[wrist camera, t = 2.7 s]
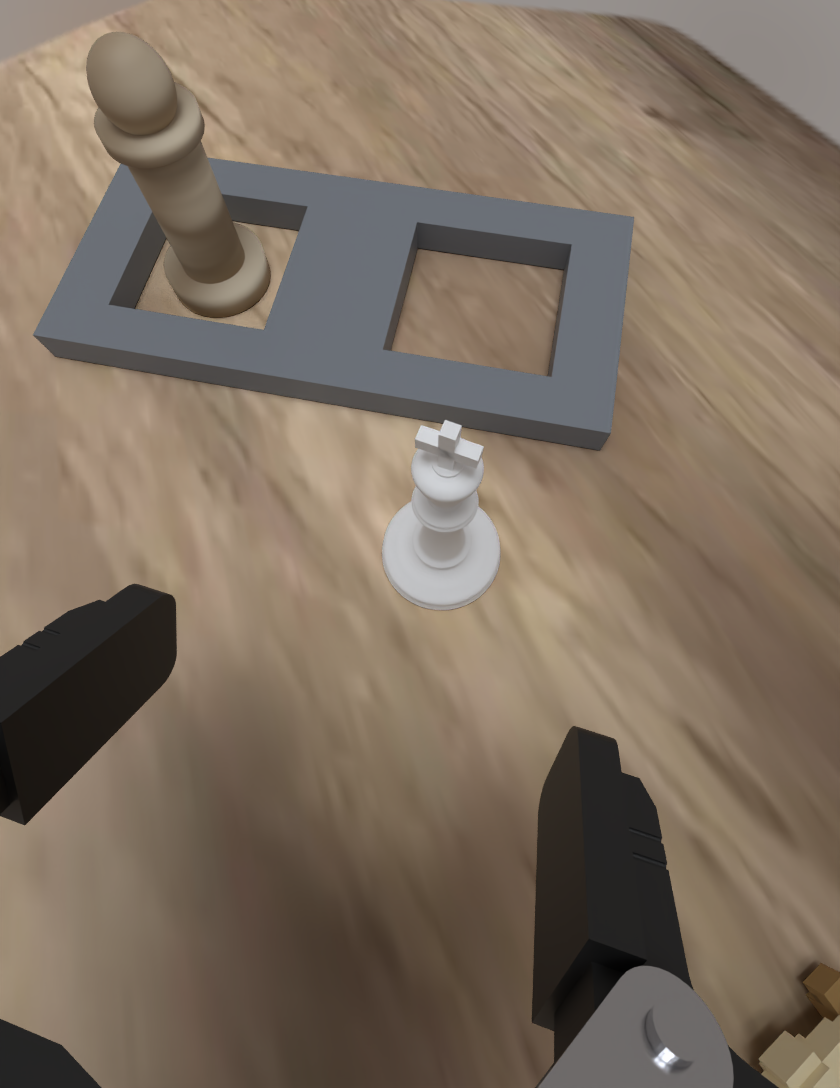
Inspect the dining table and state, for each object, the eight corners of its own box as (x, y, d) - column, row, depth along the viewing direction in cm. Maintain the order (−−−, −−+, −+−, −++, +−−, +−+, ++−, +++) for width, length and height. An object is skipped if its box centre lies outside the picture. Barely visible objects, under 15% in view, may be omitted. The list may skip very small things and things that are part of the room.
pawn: (281, 248, 27) (204, 0, 18) (254, 324, 26) (154, 98, 17) (193, 235, 28) (71, -15, 18) (161, 309, 26) (11, 79, 17)
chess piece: (408, 482, 23) (394, 321, 14) (515, 520, 23) (578, 379, 13) (363, 584, 22) (314, 483, 12) (476, 628, 21) (515, 557, 12)
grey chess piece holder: (623, 243, 27) (634, 217, 26) (599, 450, 24) (610, 433, 22) (144, 174, 29) (129, 146, 28) (55, 356, 26) (32, 334, 24)
